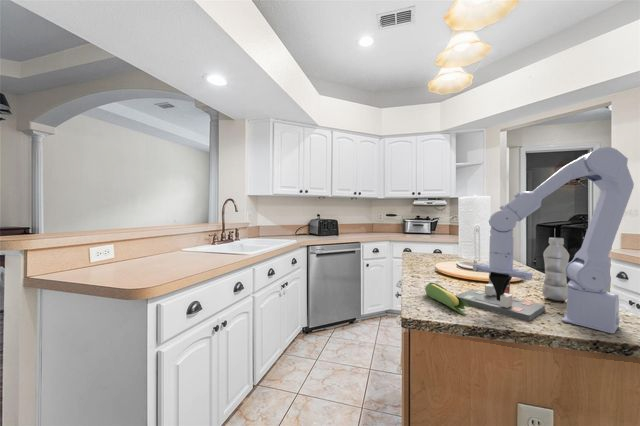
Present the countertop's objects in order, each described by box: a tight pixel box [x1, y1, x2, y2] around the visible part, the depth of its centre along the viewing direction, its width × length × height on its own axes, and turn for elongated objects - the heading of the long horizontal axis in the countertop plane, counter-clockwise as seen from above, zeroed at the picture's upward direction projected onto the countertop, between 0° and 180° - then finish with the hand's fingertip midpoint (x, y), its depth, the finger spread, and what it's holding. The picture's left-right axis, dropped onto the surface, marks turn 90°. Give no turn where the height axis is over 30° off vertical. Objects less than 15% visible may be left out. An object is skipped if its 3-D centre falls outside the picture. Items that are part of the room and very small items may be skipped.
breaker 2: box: [500, 293, 513, 308], centre depth 79 cm, size 2×4×3 cm, turn 127°
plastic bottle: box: [541, 237, 570, 302], centre depth 90 cm, size 6×7×20 cm
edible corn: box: [424, 282, 470, 316], centre depth 86 cm, size 5×20×5 cm, turn 7°
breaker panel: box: [454, 288, 546, 322], centre depth 84 cm, size 20×13×2 cm, turn 37°
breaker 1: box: [484, 283, 496, 296], centre depth 89 cm, size 2×4×3 cm, turn 127°
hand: (500, 299), depth 80 cm, fingers closed
